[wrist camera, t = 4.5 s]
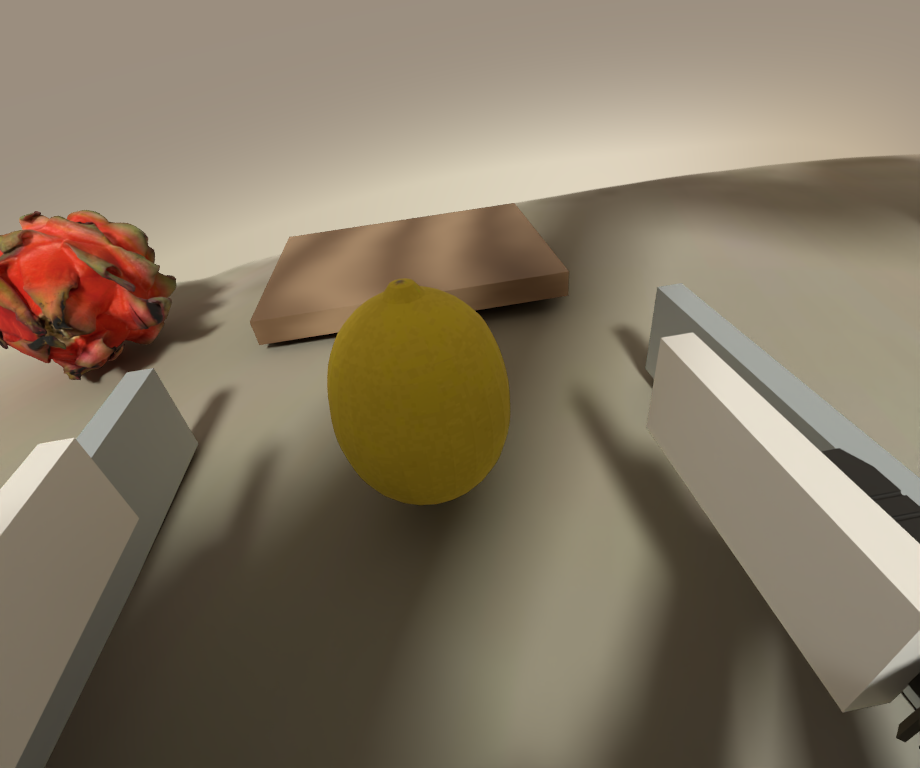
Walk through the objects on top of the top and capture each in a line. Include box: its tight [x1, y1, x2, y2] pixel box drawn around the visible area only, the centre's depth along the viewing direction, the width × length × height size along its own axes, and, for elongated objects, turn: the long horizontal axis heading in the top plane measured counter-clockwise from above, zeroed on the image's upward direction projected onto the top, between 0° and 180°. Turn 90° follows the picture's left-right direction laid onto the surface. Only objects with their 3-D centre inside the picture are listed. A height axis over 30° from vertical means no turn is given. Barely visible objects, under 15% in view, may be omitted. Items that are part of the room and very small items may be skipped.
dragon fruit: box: [0, 210, 176, 380], centre depth 27 cm, size 8×8×12 cm
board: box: [250, 203, 569, 345], centre depth 33 cm, size 18×14×2 cm
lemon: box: [327, 278, 510, 505], centre depth 15 cm, size 6×6×8 cm
